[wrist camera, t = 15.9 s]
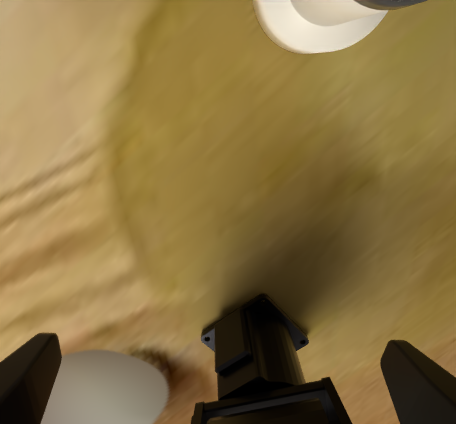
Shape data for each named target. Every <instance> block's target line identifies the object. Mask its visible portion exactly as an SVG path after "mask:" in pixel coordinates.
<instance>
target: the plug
mask: <svg viewBox="0 0 456 424" xmlns="http://www.w3.org/2000/svg"><path fill="white" fill-rule="evenodd" d="M424 1H427V0H252V2H253V7H254V11H255V14H256V17H257V19H258V22H259V24H260V26H261V27H262V29H263V31H264V32H265V33H266V35H267V36H268V37H269V38H270V39H271V40H272V41H273V42H274V43H275V44H277V45H278V46H279V47H281V48H283V49H285V50H287V51H290V52H293V53H298V54H311V53H322V52H332V51H337V50H341V49H344V48H346V47H349V46H351V45H353V44H355V43H357V42H358V41H360V40H361V39H363V38H364V37H365V36H367V35H368V34H369V33H370V32H371V31H372V30H373V29H374V28H375V27H376V26H377V25H378V24H379V23H380V22H381V20H382V19H383V18H384V16H385V15H386V13H387V12H388V10H395V9H399V8H403V7H407V6H410V5H414V4H417V3H421V2H424Z"/></svg>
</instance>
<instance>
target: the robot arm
mask: <svg viewBox="0 0 456 424" xmlns="http://www.w3.org/2000/svg"><path fill="white" fill-rule="evenodd" d="M263 300H265V301H264V302H261V301H263ZM201 341H202V342H203V343H204V344H205V345H207V346H208V347H209V348H210V349H212V350H213V351H214V352H215V372H216V373H217V381H218V401H212V402H207V403H205V402H199V403H196V404H195V410H194V415H193V416H192V420H191V424H352V422H351V420H350V418H349V416H348V414H347V412H346V410H345V408H344V406H343V404H342V402H341V399H340V397H339V395H338V393H337V391H336V389H335V387H334V385H333V383H332V381H331V379H330V377H326V378H321V380H319V381H314V382H309V383H306V382H305V379H304V375H303V372H302V369H301V366H300V362H299V359H298V356H297V352H296V351H297V350H299V349H301V348H302V347H304V346H306V345H307V344H308V343H309V340H308V337H307V335H306V334H305V333H304V332H303V331H302V330H301V329H300V328H299V327H298V326H297V325H296V324H295V323H294V322H293V321H292V320H291V319H290V318H289V317H288V316H287V315H286V314H285V313H284V312H283V311H282V310H281V309H280V308H279V307H278V306H277V305H276V304H275V303H274V302H273V301H272V300H271V299H270V298H269V297H268V296H267V295H265V294H261V295H259V296H257V297H255V298H254V299H252V300H251V301H249V302H248V303H246V304H245V305H243V306H242V307H240V308H239V309H237V310H236V311H234V312H233V313H231V314H230V315H228V316H226V317H225V318H223V319H222V320H220V321H219V322H217V323H216V324H214V325H213V326H211V327H210V328H208V329H207V330H205V331H204V332H202V334H201ZM61 358H62V355H61V350H60V345H59V340H58V336H57V334H56V333H39V334H37V335H35V336H34V337H33V338H31V339H30V340H29V341H27V342H26V343H25V344H24V345H22V346H21V347H20V348H18V349H17V350H16V351H14V352H13V353H12V354H10V355H9V356H8V357H7V358H5V359H4V360H3V361H1V362H0V424H40V423H41V420H42V418H43V415H44V412H45V409H46V406H47V403H48V400H49V397H50V394H51V391H52V388H53V385H54V382H55V379H56V376H57V373H58V370H59V367H60V364H61ZM380 363H381V369H382V372H383V375H384V378H385V381H386V384H387V387H388V390H389V393H390V396H391V399H392V401H393V404H394V407H395V410H396V413H397V416H398V419H399V421H400V424H456V377H454V376H453V375H452V374H450V373H449V372H447V371H446V370H445V369H443V368H442V367H441V366H439V365H438V364H437V363H435V362H434V361H433V360H431V359H430V358H429V357H427V356H426V355H425V354H423V353H422V352H420V351H419V350H418V349H416V348H415V347H414V346H412V345H411V344H410V343H408V342H407V341H404V340H390V341H389V342H388V344H387V346H386V348H385V351H384V353H383V355H382V358H381V362H380Z"/></svg>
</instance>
